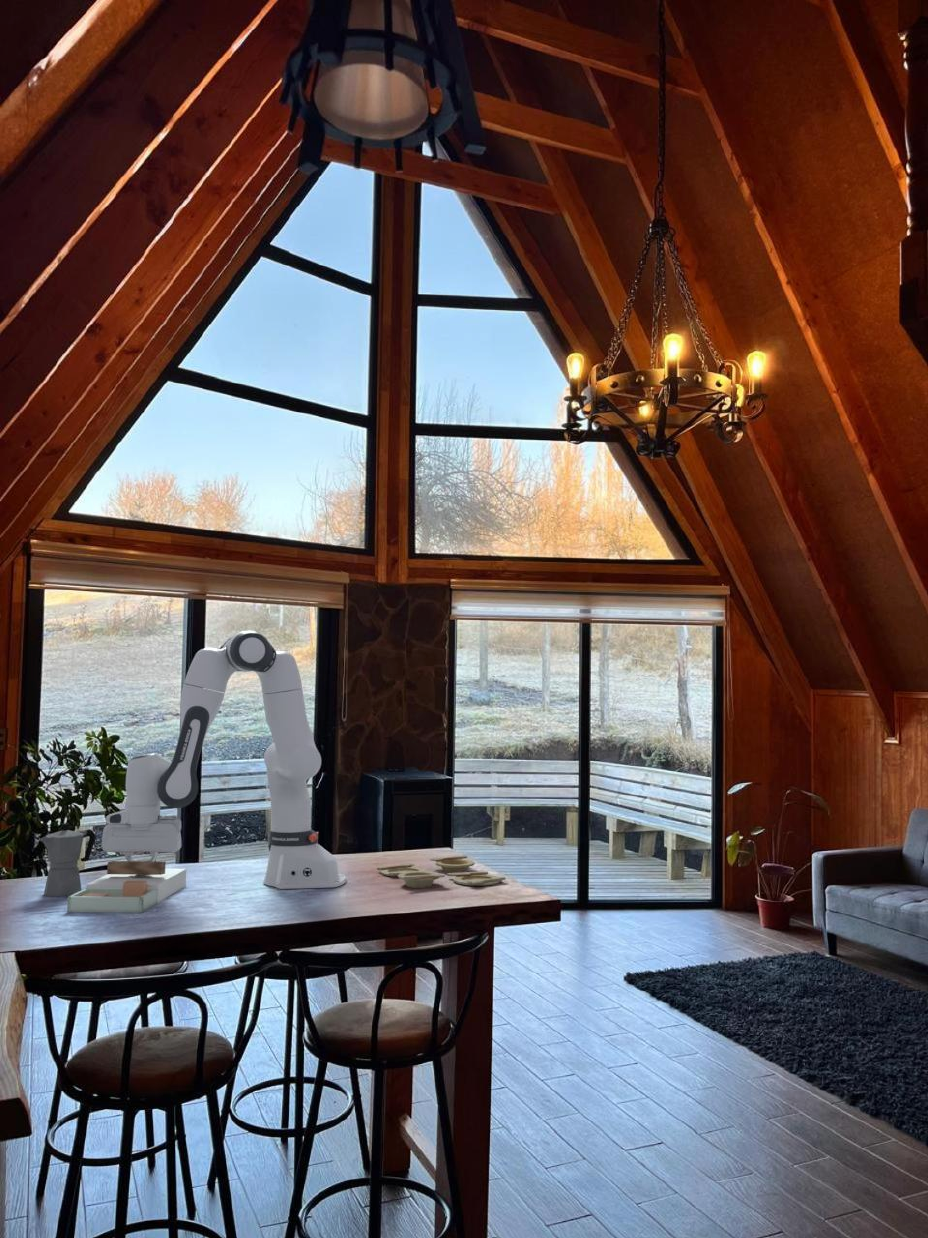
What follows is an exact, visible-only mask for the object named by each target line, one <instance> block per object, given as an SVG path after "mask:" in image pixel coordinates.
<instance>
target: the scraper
mask: <svg viewBox="0 0 928 1238" xmlns="http://www.w3.org/2000/svg"><path fill="white" fill-rule="evenodd" d="M150 860H151V858H141V859H138V860H134V861H127V860H126V861H124V860H123V861H121V860H118V861H117V860H112V861H108V862H107V867H106V868H107V870H106V871H107V872H106V875H107V874H129V875H162V874H165V869H166V864H167V863H166V861H157V858H156V859H155V861H154V862H149V861H150Z"/></svg>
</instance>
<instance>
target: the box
mask: <svg viewBox="0 0 928 1238" xmlns="http://www.w3.org/2000/svg"><path fill="white" fill-rule="evenodd" d="M87 893H109V897H88V896H83V895H85V894H87ZM157 893H158V889H147V893H146V894H145V895H143V896H141V897H123V889H114V888H86V887H85V888H83V889H82V890H81V891H79V892H77V893H75V894H73V895H71V896H67V900H66V901H67V903H66V905H67V906H66V907H67V908H66V911H67V913H106V914H108V913H110V914H111V913H113V914H115V913H116V914H117V913H118V914H119V913H120V914H124V913H126V914H127V913H129V914H130V913H131V914H142V913H143V912H144V913H145V912H146V911H147V910H149V909H150V908H152V907H154V906H156V905H157V904H158V903H157Z"/></svg>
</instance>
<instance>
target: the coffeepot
mask: <svg viewBox="0 0 928 1238" xmlns="http://www.w3.org/2000/svg"><path fill="white" fill-rule="evenodd" d="M61 825H62V830H60V831H56V832H53V833H49V834H46V835H45V836H44V837H43V836H42V837H41V838H40V840H39V841H40V842H42V844H43V845H44V846H45V847H46V850H47V855H48V862H49V869H48V873H47V878H46V882H45V887H44V892H43V893H44V895H46V897H49V898H63V897H64V898H65V897H69V896H71V895H73V894H75V893H77V892H79V891H81V890H83V889H82V884H81V883H82V882H81V876H80V868H79V866H78V865H79V863H78V861H79V860H80V862H87V861H89V859H90V857H91V855H92V850H93V847H94V844H95V842H96V838H97V835H96V833H95V832H94V831H93V830H92V829H90V828H89V829H88V828H87V829H83V830H78V831H75V830H70V829H69V825H70V824H69V823H67V822H64V823H62V824H61ZM87 837H89V839H88V841H87V847H86V849H85V855H84V857H81V853H82V847H83V841H84V838H87Z"/></svg>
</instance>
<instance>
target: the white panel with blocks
mask: <svg viewBox="0 0 928 1238" xmlns="http://www.w3.org/2000/svg"><path fill="white" fill-rule="evenodd" d="M126 881H147V889H158V893H157V904H159V903H160V902H162V901H163V900H165V899H167V898H169V897H170V896H171V895H174V894H175V893H176V892H178V891H180V890H181V889H183V888H185V887H186V885H187V868H165V874H162V875H129V874H107V873H106V874H105V875H103V876H101V877H99V878H97V879H95V880H92V881H91V882H88V883H85V884H86V886H85V889H86V888H114V889H123V883H124V882H126ZM184 886H185V887H184Z"/></svg>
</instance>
